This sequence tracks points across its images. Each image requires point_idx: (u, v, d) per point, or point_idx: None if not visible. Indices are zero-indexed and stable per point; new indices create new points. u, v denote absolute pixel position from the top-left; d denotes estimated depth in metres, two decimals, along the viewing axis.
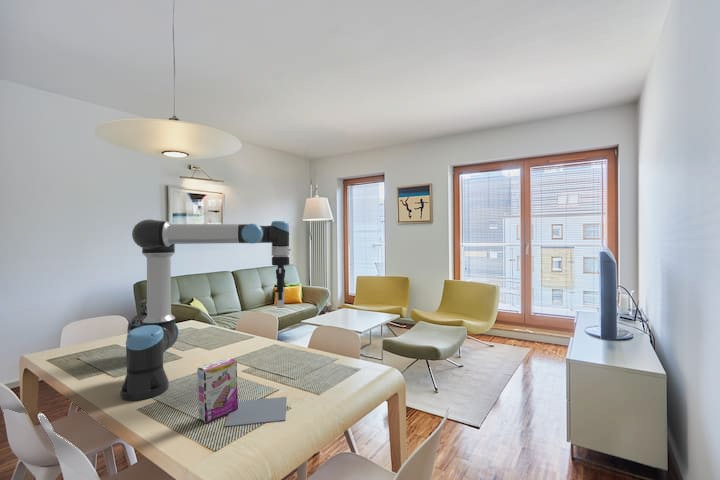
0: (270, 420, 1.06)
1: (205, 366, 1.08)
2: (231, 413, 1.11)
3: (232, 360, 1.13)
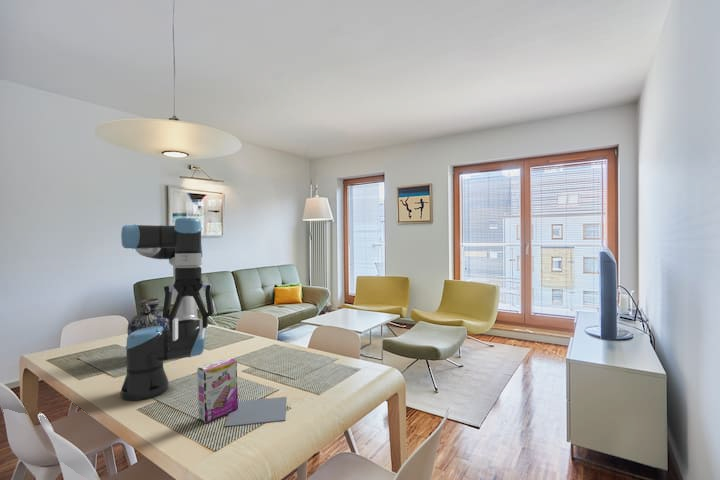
0: (270, 420, 1.06)
1: (205, 366, 1.08)
2: (231, 413, 1.11)
3: (232, 360, 1.13)
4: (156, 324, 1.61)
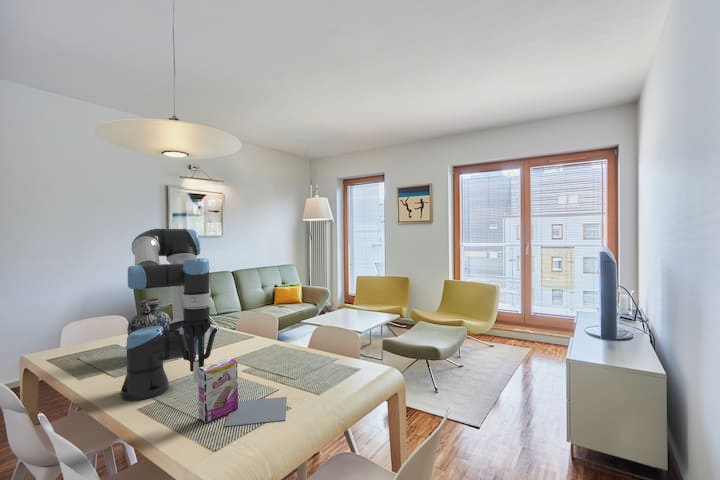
0: (270, 420, 1.06)
1: (205, 367, 1.07)
2: (231, 413, 1.11)
3: (233, 360, 1.12)
4: (156, 324, 1.61)
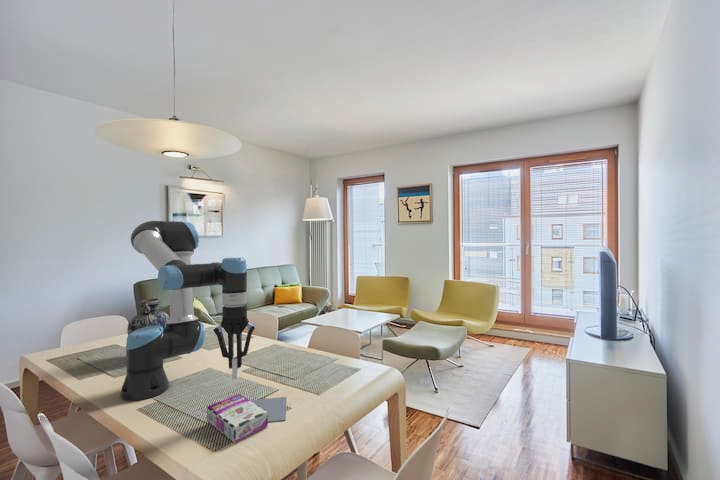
0: (270, 420, 1.06)
1: (240, 429, 0.96)
2: None
3: (265, 424, 1.02)
4: (156, 324, 1.61)
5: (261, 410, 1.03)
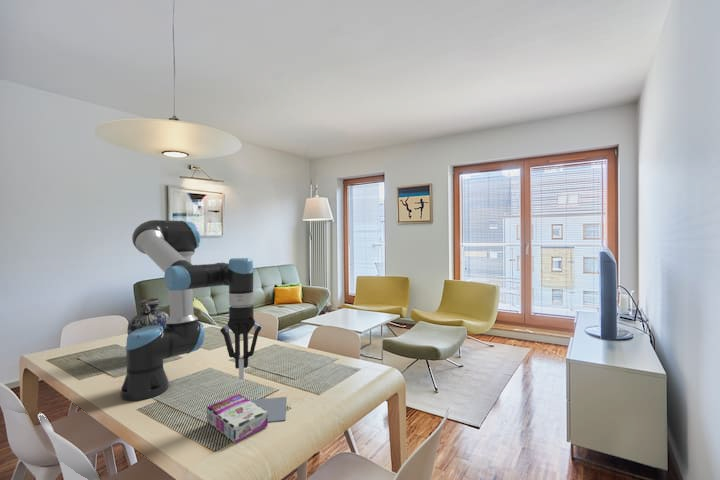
0: (270, 420, 1.06)
1: (240, 429, 0.96)
2: None
3: (265, 423, 1.02)
4: (156, 324, 1.61)
5: (261, 409, 1.03)
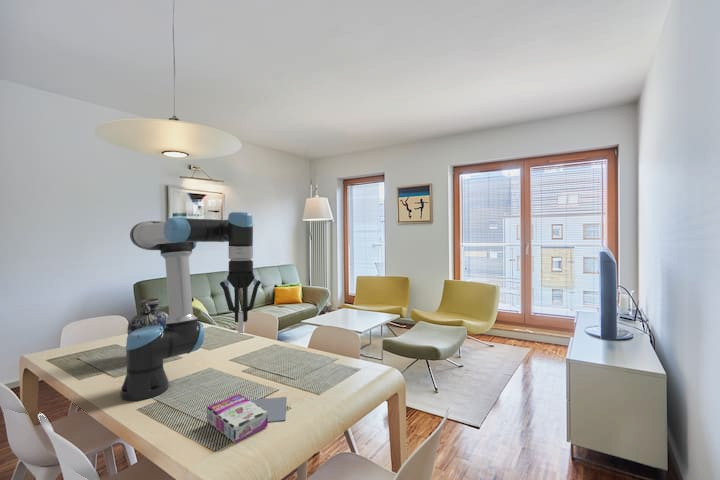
0: (270, 420, 1.06)
1: (240, 429, 0.96)
2: None
3: (265, 423, 1.02)
4: (156, 324, 1.61)
5: (261, 409, 1.03)
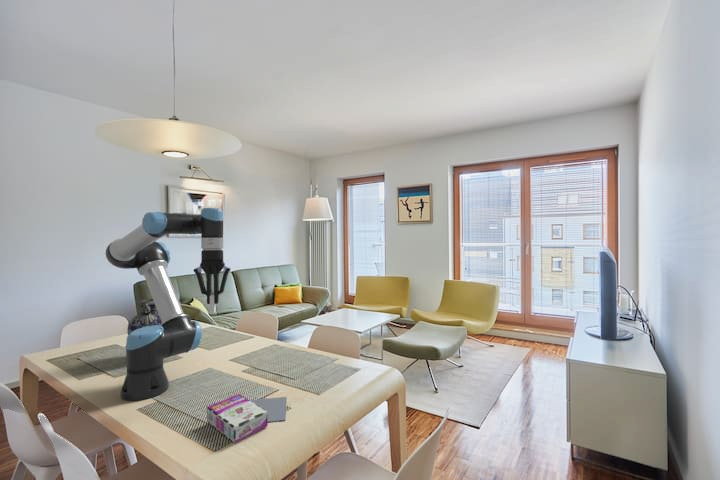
0: (270, 420, 1.06)
1: (240, 429, 0.96)
2: None
3: (265, 423, 1.02)
4: (156, 324, 1.61)
5: (261, 409, 1.03)
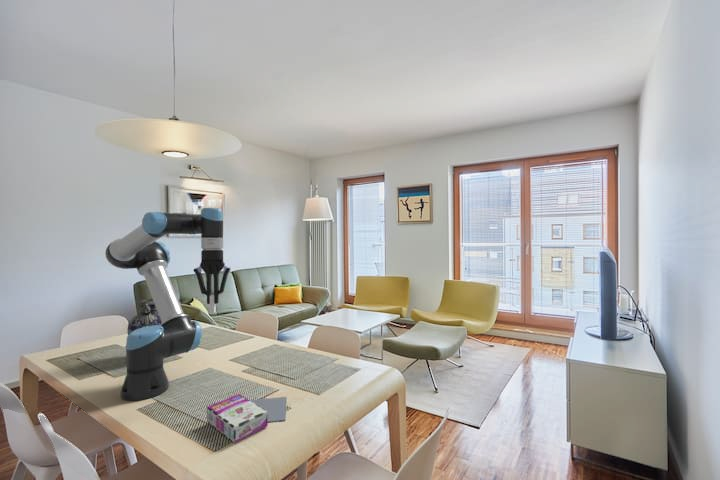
0: (270, 420, 1.06)
1: (240, 429, 0.96)
2: None
3: (265, 423, 1.02)
4: (156, 324, 1.61)
5: (261, 409, 1.03)
